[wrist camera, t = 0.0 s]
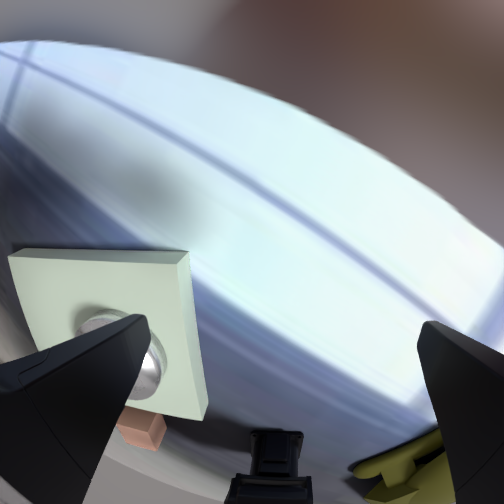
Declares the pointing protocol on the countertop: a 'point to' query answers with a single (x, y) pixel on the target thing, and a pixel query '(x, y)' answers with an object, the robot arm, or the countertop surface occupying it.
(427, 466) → the spaceship
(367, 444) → the countertop surface
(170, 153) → the countertop surface
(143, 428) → the terracotta cube
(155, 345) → the metal puck
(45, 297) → the pocket deck
